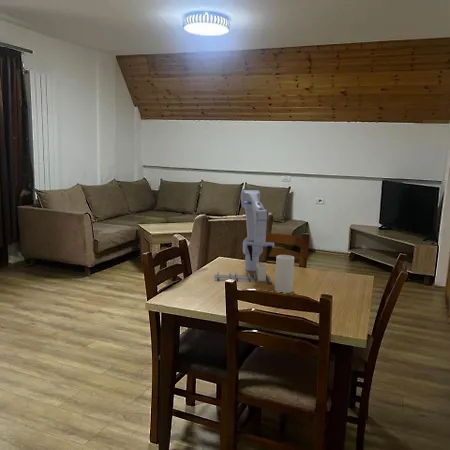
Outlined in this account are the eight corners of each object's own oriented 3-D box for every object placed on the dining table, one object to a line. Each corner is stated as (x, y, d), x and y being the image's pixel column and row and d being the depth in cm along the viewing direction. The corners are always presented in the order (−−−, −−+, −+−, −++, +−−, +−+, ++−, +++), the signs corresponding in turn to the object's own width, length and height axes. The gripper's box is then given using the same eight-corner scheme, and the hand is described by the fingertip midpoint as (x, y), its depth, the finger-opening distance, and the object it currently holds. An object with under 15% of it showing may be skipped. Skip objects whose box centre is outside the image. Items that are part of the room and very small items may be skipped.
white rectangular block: (255, 276, 229) (256, 263, 228) (264, 276, 229) (264, 263, 228) (257, 281, 221) (257, 267, 220) (266, 281, 222) (266, 267, 220)
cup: (291, 293, 207) (293, 259, 204) (273, 292, 208) (275, 258, 206) (292, 288, 215) (294, 255, 212) (275, 287, 216) (277, 254, 214)
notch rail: (214, 276, 230) (214, 271, 230) (269, 277, 231) (269, 273, 231) (214, 282, 219) (214, 277, 219) (272, 284, 220) (272, 279, 220)
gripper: (246, 234, 221) (244, 262, 223) (275, 235, 221) (274, 262, 224) (245, 232, 228) (243, 258, 230) (273, 233, 228) (272, 259, 231)
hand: (258, 260), depth 227 cm, fingers open, 7 cm apart
